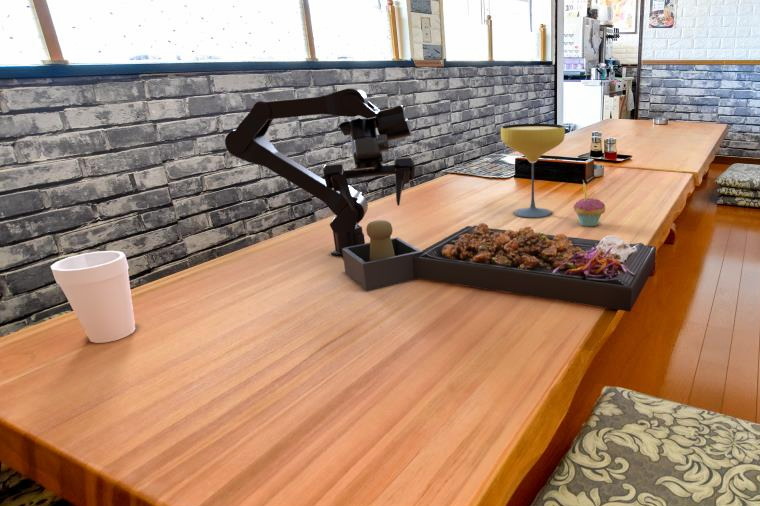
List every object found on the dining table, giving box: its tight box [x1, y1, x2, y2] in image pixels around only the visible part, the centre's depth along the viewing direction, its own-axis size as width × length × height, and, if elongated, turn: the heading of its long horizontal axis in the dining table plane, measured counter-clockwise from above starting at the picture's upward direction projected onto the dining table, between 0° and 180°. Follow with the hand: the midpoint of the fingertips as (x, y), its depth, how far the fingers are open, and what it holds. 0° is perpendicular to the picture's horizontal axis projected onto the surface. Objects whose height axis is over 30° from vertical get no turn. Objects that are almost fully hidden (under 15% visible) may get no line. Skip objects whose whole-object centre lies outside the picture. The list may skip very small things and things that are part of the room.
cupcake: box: [573, 179, 606, 227], centre depth 144 cm, size 9×8×12 cm
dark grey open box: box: [342, 236, 423, 292], centre depth 111 cm, size 13×13×6 cm
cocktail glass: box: [500, 123, 566, 219], centre depth 153 cm, size 18×18×25 cm
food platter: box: [412, 222, 657, 313], centre depth 109 cm, size 45×25×10 cm, turn 66°
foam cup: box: [50, 250, 136, 344], centre depth 86 cm, size 10×9×13 cm
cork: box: [365, 219, 395, 261], centre depth 110 cm, size 6×6×11 cm
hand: (376, 207), depth 111 cm, fingers open, 9 cm apart
